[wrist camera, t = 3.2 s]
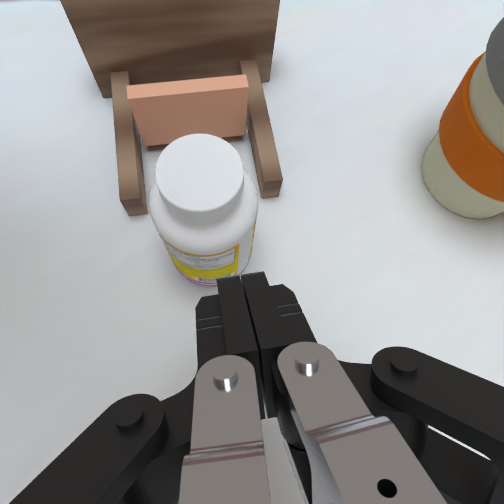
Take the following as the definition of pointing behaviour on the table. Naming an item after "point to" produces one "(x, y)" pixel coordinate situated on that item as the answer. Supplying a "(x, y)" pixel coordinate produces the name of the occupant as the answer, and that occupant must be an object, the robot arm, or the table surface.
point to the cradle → (178, 67)
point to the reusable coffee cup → (472, 140)
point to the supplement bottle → (204, 207)
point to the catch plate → (190, 108)
